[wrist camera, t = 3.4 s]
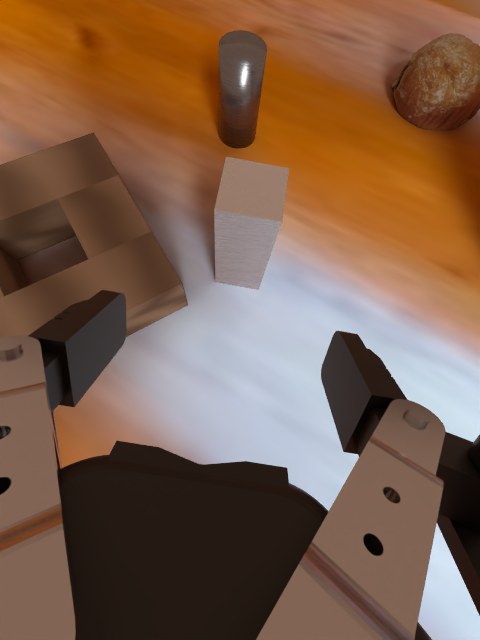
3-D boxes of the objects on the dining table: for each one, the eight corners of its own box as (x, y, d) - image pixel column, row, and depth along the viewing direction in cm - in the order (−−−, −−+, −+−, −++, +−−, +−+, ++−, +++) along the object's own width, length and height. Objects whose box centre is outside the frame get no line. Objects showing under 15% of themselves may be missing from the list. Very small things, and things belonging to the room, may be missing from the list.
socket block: (111, 173, 29) (93, 132, 25) (187, 304, 25) (181, 283, 21) (-61, 239, 25) (-117, 205, 21) (0, 401, 22) (-53, 400, 18)
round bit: (243, 115, 32) (250, 25, 25) (262, 140, 32) (275, 54, 24) (212, 127, 32) (209, 38, 24) (230, 153, 31) (234, 69, 23)
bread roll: (389, 99, 40) (396, 28, 34) (481, 80, 36) (510, -5, 29) (386, 152, 37) (392, 86, 31) (485, 138, 33) (518, 59, 26)
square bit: (264, 251, 28) (289, 168, 18) (258, 289, 26) (282, 221, 17) (222, 244, 27) (226, 156, 18) (215, 282, 26) (214, 209, 17)
